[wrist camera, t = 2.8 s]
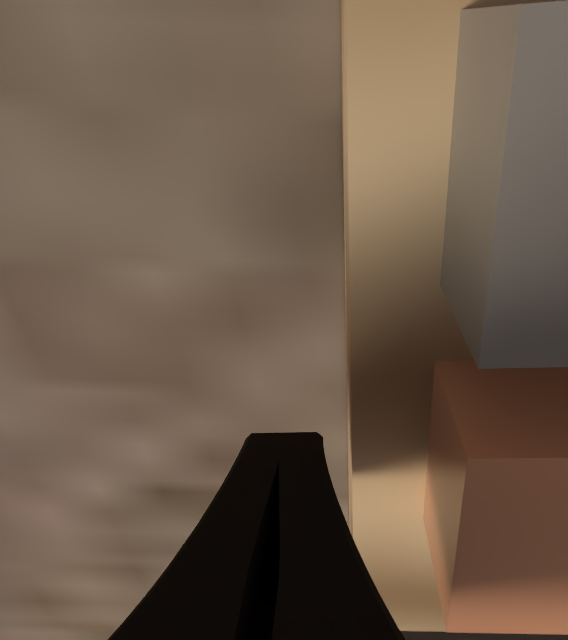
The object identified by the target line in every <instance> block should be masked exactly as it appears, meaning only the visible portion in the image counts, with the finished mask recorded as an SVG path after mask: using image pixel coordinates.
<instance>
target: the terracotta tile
mask: <svg viewBox="0 0 568 640" xmlns="http://www.w3.org/2000/svg"><path fill="white" fill-rule="evenodd" d="M423 520H424V525H425V530H426V534H427V539H428V544H429V549H430V554H431V559H432V564H433V569H434V574H435V578H436V583H437V588H438V593H439V598H440V603H441V608H442V613H443V618H444V623H445V627H446V632H449V633H505V634H561V635H568V367H543V368H500V369H478V368H477V365H476V363H475V361H474V360H462V361H435V365H434V378H433V392H432V405H431V419H430V433H429V446H428V460H427V473H426V487H425V500H424V514H423Z"/></svg>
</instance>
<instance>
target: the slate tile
mask: <svg viewBox="0 0 568 640" xmlns="http://www.w3.org/2000/svg"><path fill="white" fill-rule="evenodd" d="M440 286H441V288H442V290H443V292H444V295H445V297H446V299H447V301H448V303H449V306H450V308H451V310H452V312H453V314H454V317H455V319H456V321H457V323H458V326H459V328H460V330H461V332H462V334H463V337H464V339H465V341H466V343H467V346H468V348H469V350H470V352H471V354H472V357H473V359H474V361H475V363H476V365H477V368H478V369H500V368H543V367H568V0H566V1H553V2H540V3H528V4H516V5H506V6H495V7H484V8H474V9H463V10H461V13H460V27H459V40H458V54H457V67H456V81H455V95H454V108H453V122H452V135H451V149H450V162H449V176H448V189H447V203H446V216H445V230H444V243H443V257H442V270H441V284H440Z"/></svg>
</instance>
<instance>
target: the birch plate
mask: <svg viewBox="0 0 568 640" xmlns="http://www.w3.org/2000/svg"><path fill="white" fill-rule="evenodd" d="M553 1H566V0H340V11H341V68H342V126H343V183H344V241H345V298H346V356H347V414H348V471H349V529H350V533H351V535H352V537H353V540H354V542H355V544H356V546H357V549H358V551H359V553H360V555H361V557H362V559H363V561H364V564H365V566H366V568H367V570H368V572H369V574H370V576H371V578H372V580H373V582H374V584H375V586H376V588H377V590H378V592H379V594H380V596H381V597H382V599H383V601H384V603H385V605H386V607H387V608H388V610H389V612H390V614H391V616H392V617H393V619H394V621H395V623H396V625H397V627H398V628H399V630H400V631H434V632H446V627H445V623H444V618H443V613H442V608H441V603H440V598H439V593H438V588H437V583H436V578H435V574H434V569H433V564H432V559H431V554H430V549H429V544H428V539H427V534H426V530H425V525H424V520H423V514H424V500H425V487H426V473H427V460H428V446H429V433H430V419H431V405H432V392H433V378H434V365H435V361H462V360H474V359H473V357H472V354H471V352H470V350H469V348H468V346H467V343H466V341H465V339H464V337H463V334H462V332H461V330H460V328H459V326H458V323H457V321H456V319H455V317H454V314H453V312H452V310H451V308H450V306H449V303H448V301H447V299H446V297H445V295H444V292H443V290H442V288H441V286H440V284H441V270H442V257H443V243H444V230H445V216H446V203H447V189H448V176H449V162H450V149H451V135H452V122H453V108H454V95H455V81H456V67H457V54H458V40H459V27H460V13H461V10H463V9H474V8H484V7H495V6H506V5H516V4H528V3H540V2H553Z"/></svg>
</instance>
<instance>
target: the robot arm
mask: <svg viewBox="0 0 568 640" xmlns="http://www.w3.org/2000/svg"><path fill="white" fill-rule="evenodd" d="M108 640H405V638H404V637H403V635H402V633H401V632H400V630H399V628H398V627H397V625H396V623H395V621H394V619H393V617H392V616H391V614H390V612H389V610H388V608H387V607H386V605H385V603H384V601H383V599H382V597H381V596H380V594H379V592H378V590H377V588H376V586H375V584H374V582H373V580H372V578H371V576H370V574H369V572H368V570H367V568H366V566H365V564H364V561H363V559H362V557H361V555H360V553H359V551H358V549H357V546H356V544H355V542H354V540H353V537H352V535H351V533H350V530H349V528H348V525H347V523H346V520H345V518H344V515H343V513H342V510H341V507H340V505H339V502H338V500H337V497H336V494H335V491H334V488H333V485H332V482H331V478H330V475H329V472H328V468H327V464H326V459H325V454H324V448H323V437H322V436H321V435H320V434H318V433H317V432H297V433H251V434H250V435H249V436H248V437H247V438H246V440H245V442H244V444H243V446H242V449H241V451H240V453H239V455H238V457H237V458H236V460H235V462H234V464H233V466H232V468H231V470H230V472H229V473H228V475H227V477H226V479H225V480H224V482H223V484H222V486H221V487H220V489H219V491H218V492H217V494H216V496H215V497H214V499H213V500H212V502H211V504H210V505H209V507H208V508H207V510H206V512H205V513H204V515H203V516H202V518H201V520H200V521H199V523H198V524H197V526H196V527H195V529H194V530H193V532H192V533H191V534H190V536H189V537H188V539H187V540H186V542H185V543H184V544H183V546H182V547H181V549H180V550H179V552H178V553H177V554H176V556H175V557H174V559H173V560H172V561H171V563H170V564H169V566H168V567H167V568H166V570H165V571H164V572H163V574H162V575H161V576H160V578H159V579H158V580H157V582H156V583H155V584H154V585H153V587H152V588H151V589H150V590H149V592H148V593H147V594H146V596H145V597H144V598H143V599H142V600H141V602H140V603H139V604H138V605H137V606H136V608H135V609H134V610H133V611H132V612H131V614H130V615H129V616H128V617H127V618H126V620H125V621H124V622H123V623H122V624H121V625H120V627H119V628H118V629H117V630H116V631H115V632H114V633H113V634H112V635H111V637H110V638H109V639H108Z"/></svg>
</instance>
